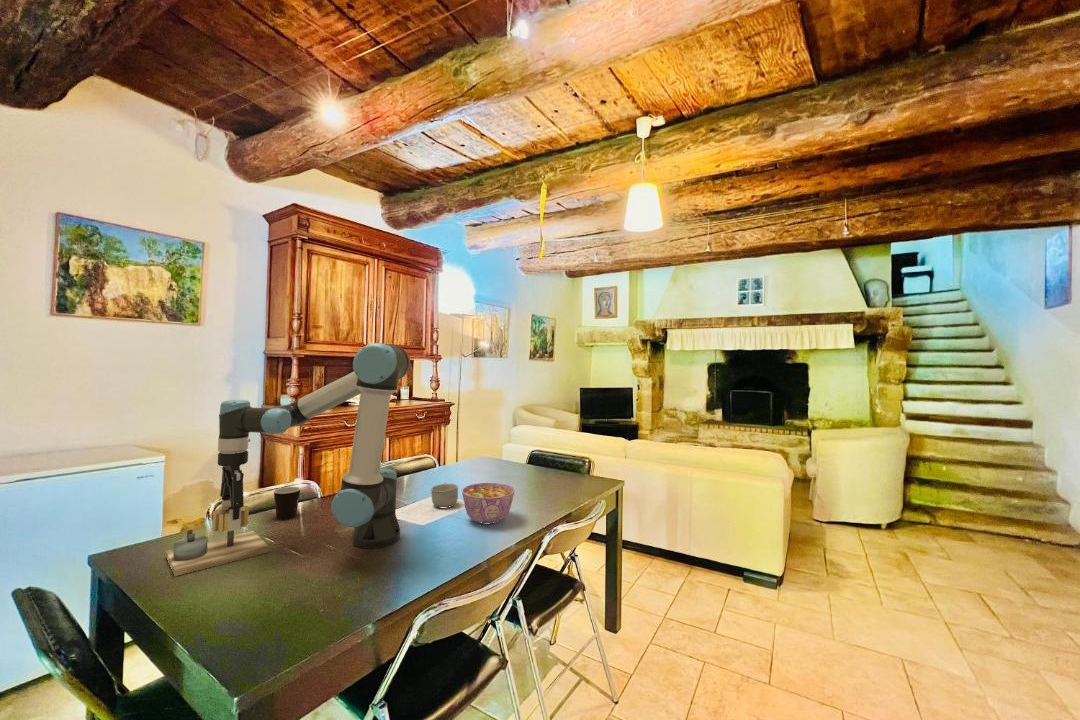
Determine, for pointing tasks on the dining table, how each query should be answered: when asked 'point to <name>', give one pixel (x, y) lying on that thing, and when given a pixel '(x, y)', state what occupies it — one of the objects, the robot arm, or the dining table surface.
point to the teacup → (444, 495)
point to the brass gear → (227, 518)
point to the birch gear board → (212, 551)
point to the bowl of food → (488, 501)
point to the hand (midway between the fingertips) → (230, 525)
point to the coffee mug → (286, 502)
